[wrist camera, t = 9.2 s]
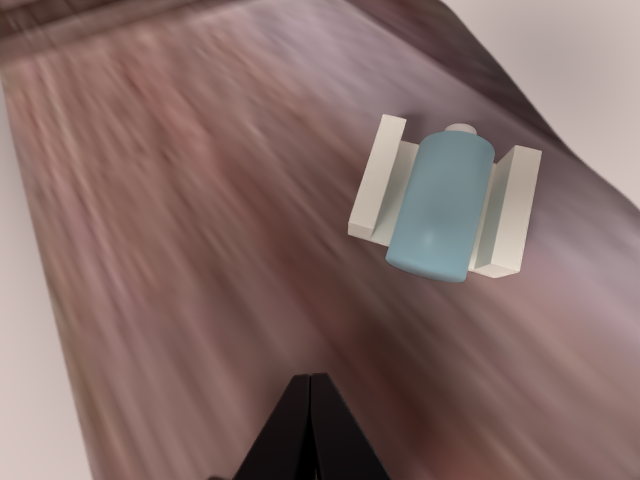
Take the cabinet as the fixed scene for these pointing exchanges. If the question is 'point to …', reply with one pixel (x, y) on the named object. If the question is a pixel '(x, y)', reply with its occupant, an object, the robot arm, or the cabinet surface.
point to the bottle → (442, 205)
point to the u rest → (497, 212)
